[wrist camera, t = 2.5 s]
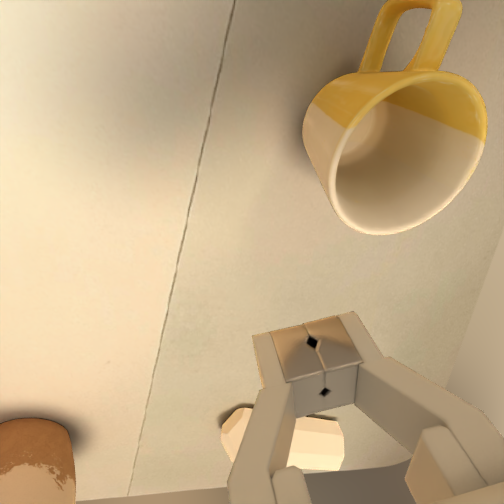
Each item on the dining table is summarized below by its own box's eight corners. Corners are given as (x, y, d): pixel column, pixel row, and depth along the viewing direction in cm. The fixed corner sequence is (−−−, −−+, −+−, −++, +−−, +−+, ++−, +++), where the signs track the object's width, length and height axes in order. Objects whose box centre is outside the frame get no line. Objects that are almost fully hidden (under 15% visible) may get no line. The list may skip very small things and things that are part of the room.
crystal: (205, 458, 51) (321, 466, 62) (227, 464, 46) (350, 471, 56) (212, 406, 55) (321, 421, 65) (234, 405, 49) (348, 422, 60)
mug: (359, 188, 33) (422, 248, 25) (265, 161, 30) (302, 220, 21) (445, 32, 26) (572, 42, 18) (336, -27, 23) (431, -49, 14)
